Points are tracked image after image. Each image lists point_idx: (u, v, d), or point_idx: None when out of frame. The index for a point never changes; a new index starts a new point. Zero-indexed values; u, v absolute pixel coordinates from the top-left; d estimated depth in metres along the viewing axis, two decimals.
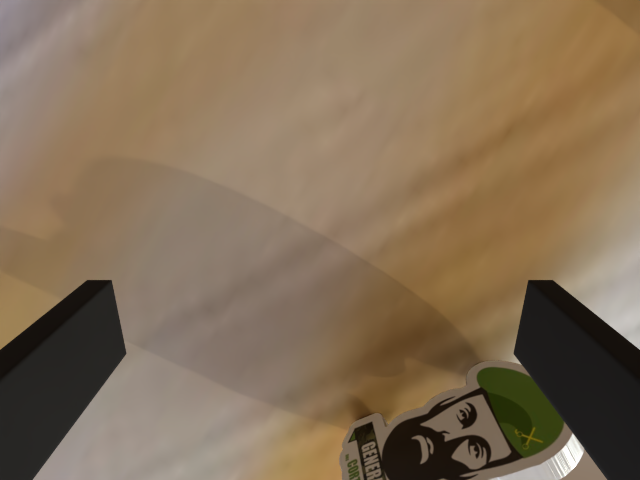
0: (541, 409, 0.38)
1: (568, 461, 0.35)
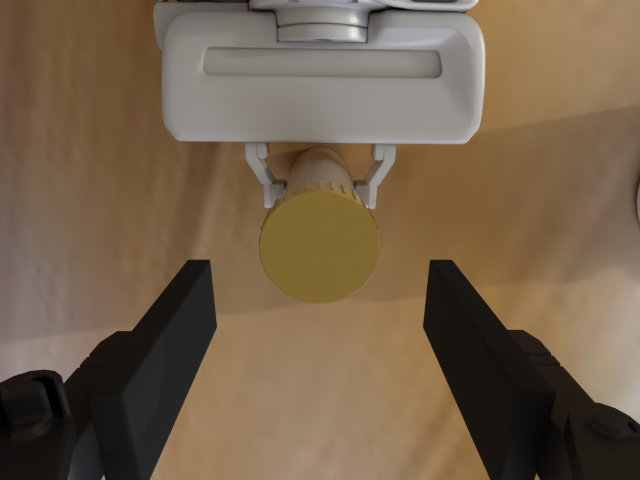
0: None
1: None
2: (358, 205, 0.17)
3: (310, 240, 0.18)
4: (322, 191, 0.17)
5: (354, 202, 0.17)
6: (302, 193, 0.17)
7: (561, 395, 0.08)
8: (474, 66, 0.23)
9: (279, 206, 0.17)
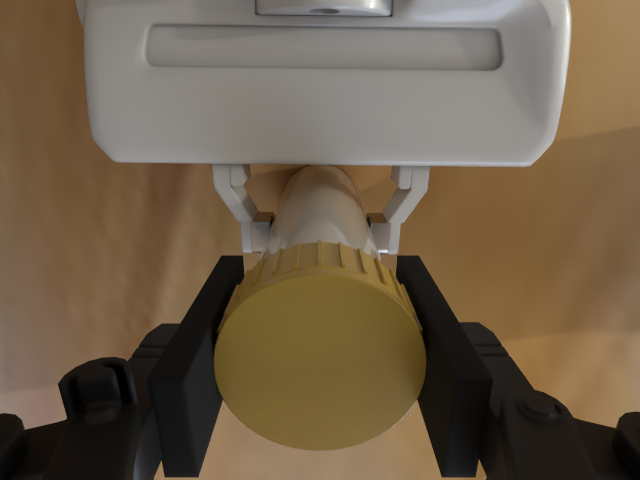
0: None
1: None
2: (391, 297, 0.10)
3: (303, 355, 0.10)
4: (325, 274, 0.09)
5: (383, 292, 0.10)
6: (288, 277, 0.09)
7: (504, 383, 0.09)
8: (554, 52, 0.15)
9: (247, 299, 0.10)
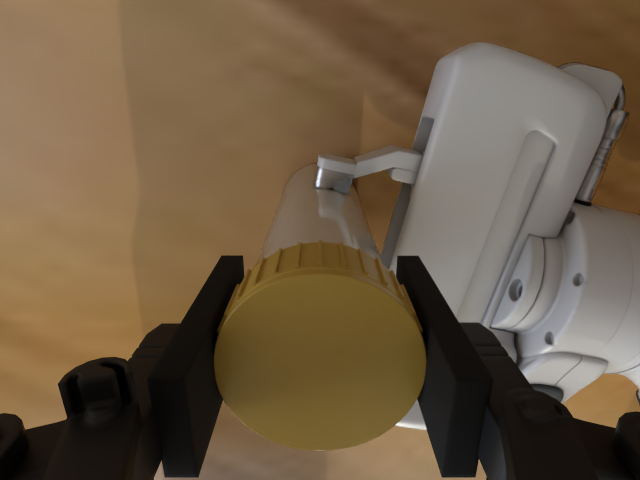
0: None
1: None
2: (391, 298, 0.10)
3: (304, 355, 0.10)
4: (326, 274, 0.09)
5: (384, 293, 0.10)
6: (289, 276, 0.09)
7: (504, 384, 0.09)
8: None
9: (247, 298, 0.10)
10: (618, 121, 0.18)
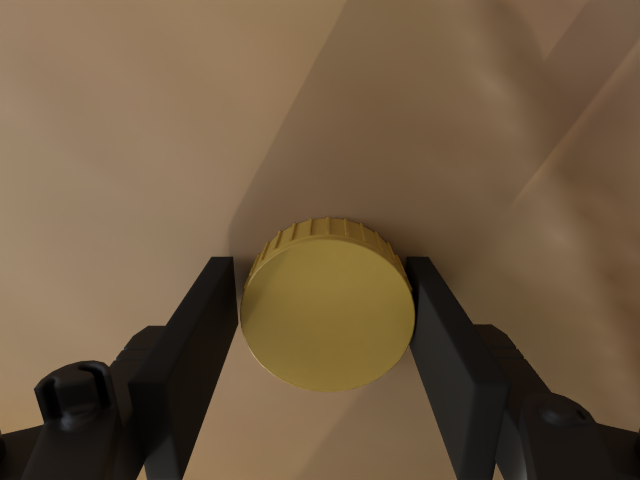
0: None
1: None
2: (385, 260, 0.12)
3: (314, 307, 0.12)
4: (332, 239, 0.12)
5: (379, 255, 0.12)
6: (302, 242, 0.12)
7: (521, 387, 0.09)
8: None
9: (269, 260, 0.12)
10: None
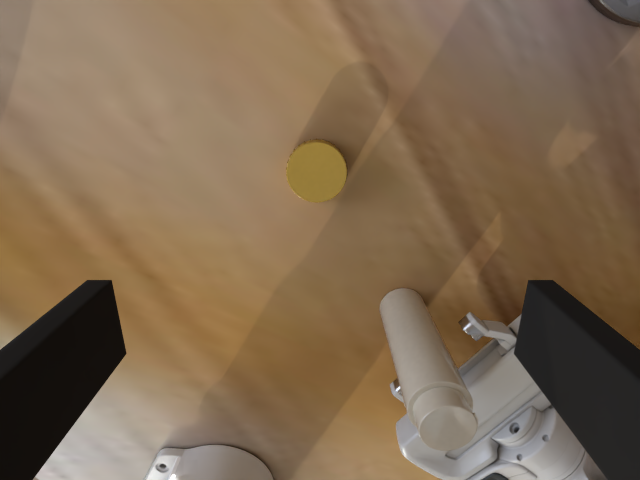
0: None
1: None
2: (335, 149, 0.36)
3: (312, 167, 0.36)
4: (317, 142, 0.35)
5: (333, 147, 0.36)
6: (308, 143, 0.36)
7: None
8: (437, 472, 0.40)
9: (296, 150, 0.36)
10: None
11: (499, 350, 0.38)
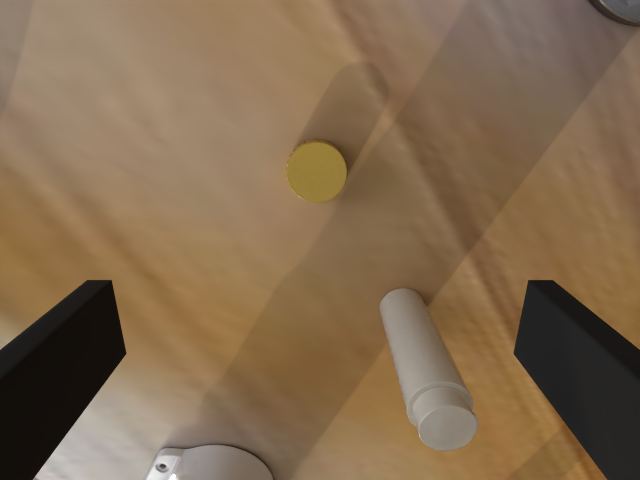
0: None
1: None
2: (335, 149, 0.36)
3: (312, 167, 0.36)
4: (317, 142, 0.35)
5: (333, 147, 0.36)
6: (308, 143, 0.36)
7: None
8: None
9: (296, 150, 0.36)
10: None
11: None
